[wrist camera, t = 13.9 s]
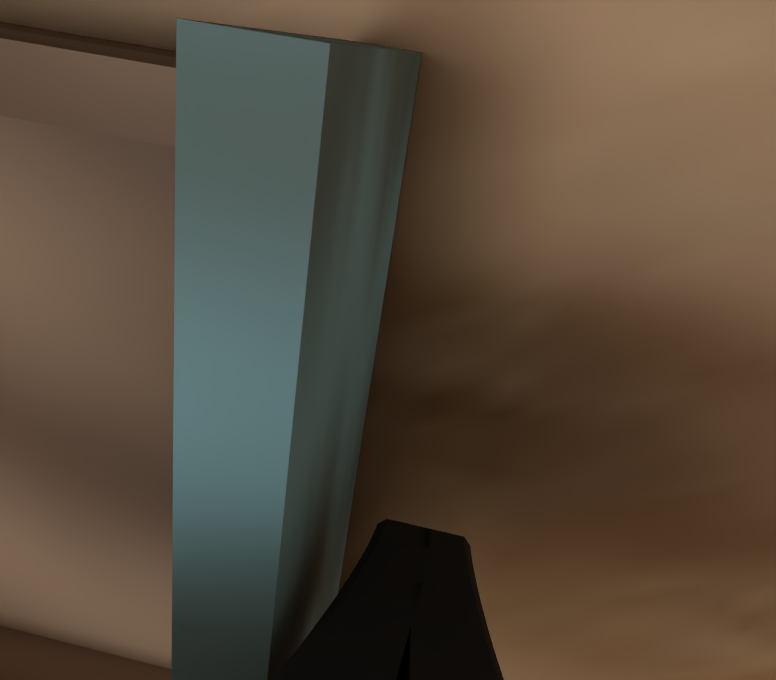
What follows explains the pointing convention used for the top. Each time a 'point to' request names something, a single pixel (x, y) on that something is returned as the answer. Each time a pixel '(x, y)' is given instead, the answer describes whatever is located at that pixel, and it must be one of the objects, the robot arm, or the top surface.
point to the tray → (186, 340)
